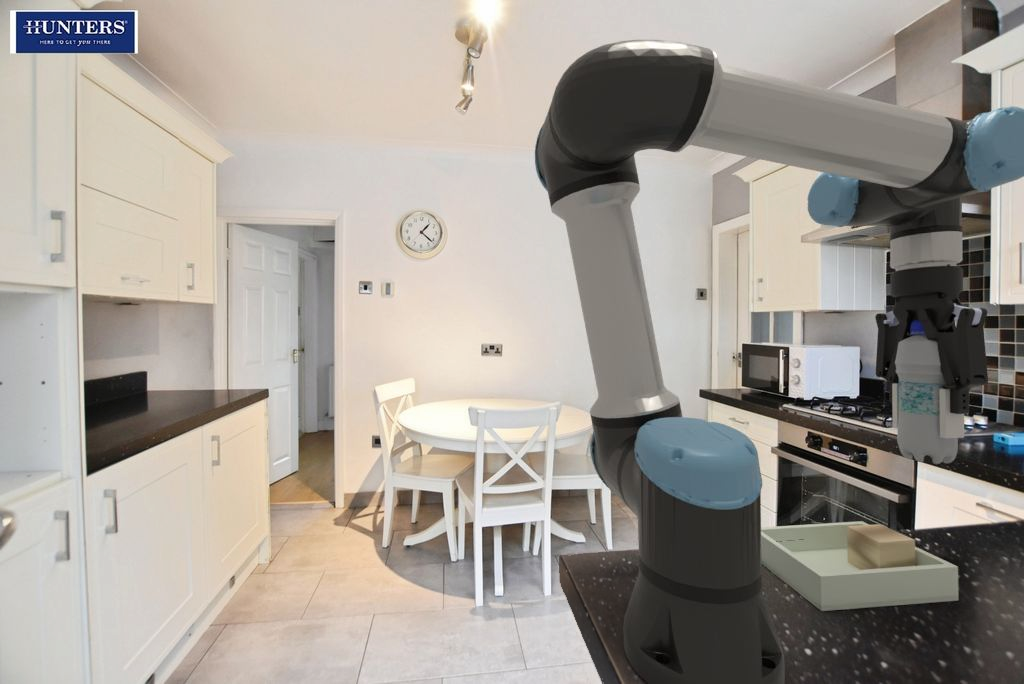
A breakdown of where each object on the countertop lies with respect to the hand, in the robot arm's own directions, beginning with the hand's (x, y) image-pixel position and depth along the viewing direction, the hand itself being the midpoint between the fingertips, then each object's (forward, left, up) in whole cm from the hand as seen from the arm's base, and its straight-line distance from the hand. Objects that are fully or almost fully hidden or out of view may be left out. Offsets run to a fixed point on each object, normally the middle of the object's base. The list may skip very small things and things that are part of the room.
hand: (926, 431), depth 64 cm
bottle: (0, 0, -4) cm, 4 cm away
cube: (-9, -4, -18) cm, 20 cm away
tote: (-14, -4, -18) cm, 23 cm away
